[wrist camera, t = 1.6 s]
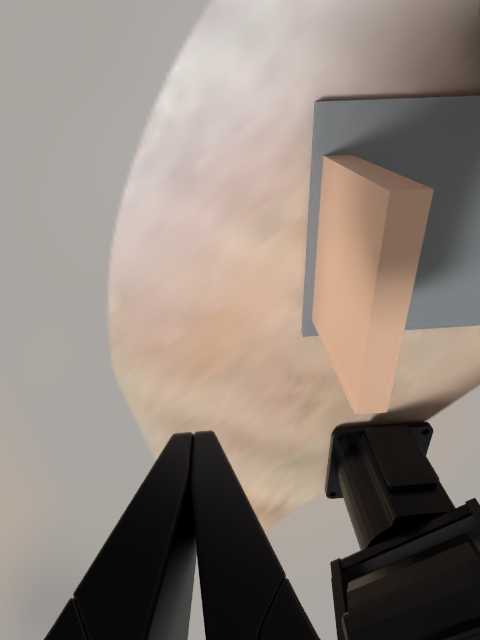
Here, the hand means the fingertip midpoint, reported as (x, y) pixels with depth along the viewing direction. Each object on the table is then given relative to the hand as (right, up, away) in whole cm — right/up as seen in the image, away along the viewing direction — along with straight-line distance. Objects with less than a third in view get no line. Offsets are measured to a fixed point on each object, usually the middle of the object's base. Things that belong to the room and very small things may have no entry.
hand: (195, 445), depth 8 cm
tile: (+5, +6, +10) cm, 13 cm away
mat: (+9, +7, +10) cm, 16 cm away
